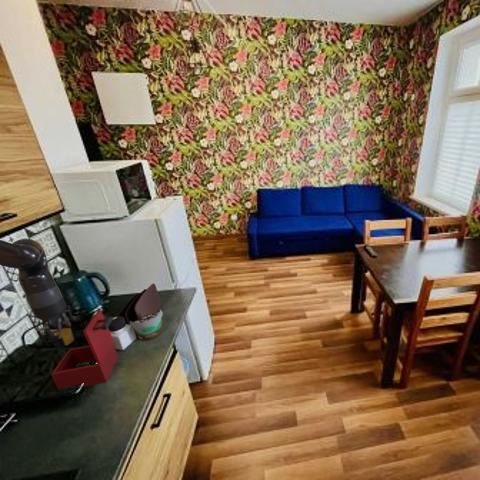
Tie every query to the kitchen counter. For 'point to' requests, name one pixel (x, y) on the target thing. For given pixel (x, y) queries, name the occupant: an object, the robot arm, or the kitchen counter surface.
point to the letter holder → (141, 305)
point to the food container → (148, 326)
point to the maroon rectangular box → (89, 374)
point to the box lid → (99, 335)
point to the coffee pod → (66, 336)
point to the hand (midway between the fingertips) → (65, 341)
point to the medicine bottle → (121, 333)
